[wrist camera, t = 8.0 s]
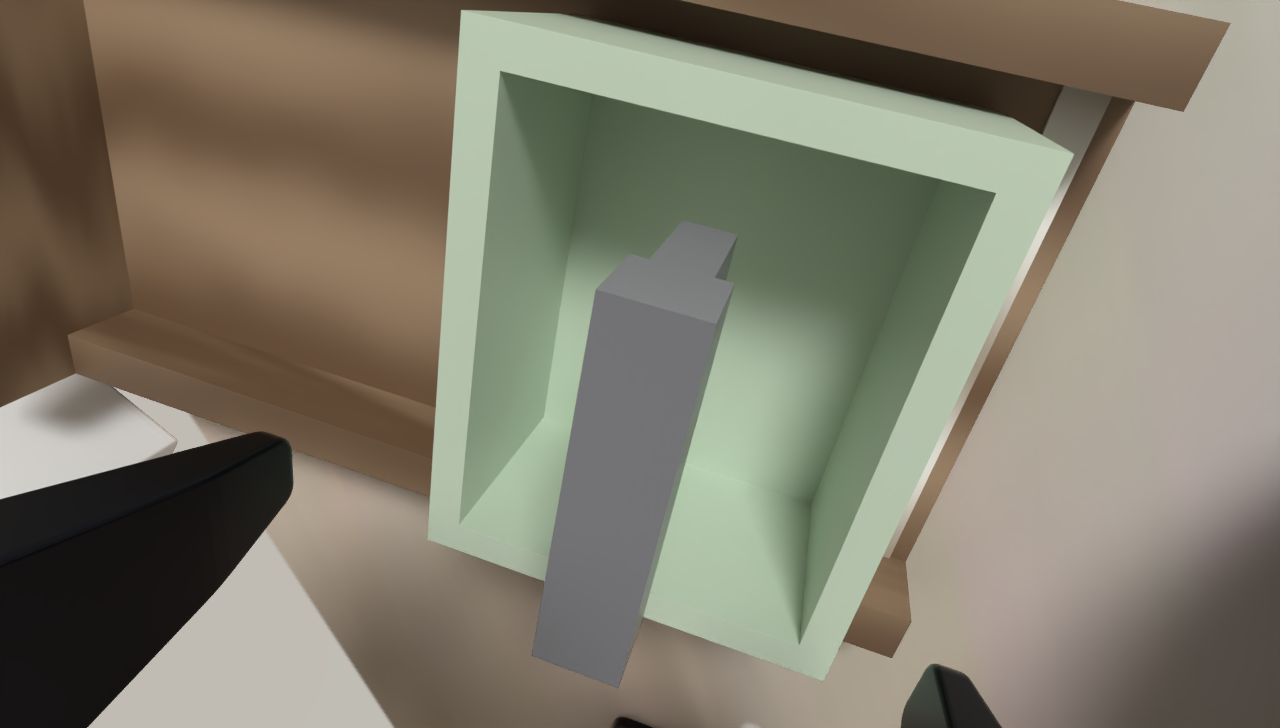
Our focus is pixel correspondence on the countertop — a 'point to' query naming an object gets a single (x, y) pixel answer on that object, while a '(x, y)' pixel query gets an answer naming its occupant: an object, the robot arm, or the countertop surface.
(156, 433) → the milk carton
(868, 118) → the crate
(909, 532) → the bay
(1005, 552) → the countertop surface
